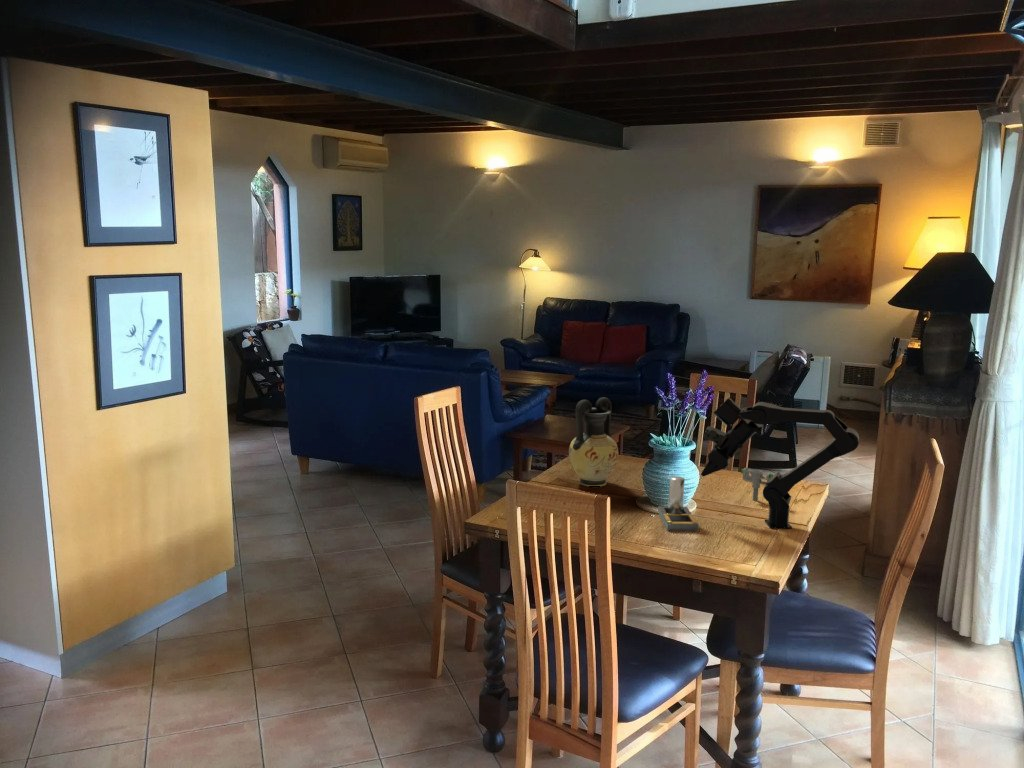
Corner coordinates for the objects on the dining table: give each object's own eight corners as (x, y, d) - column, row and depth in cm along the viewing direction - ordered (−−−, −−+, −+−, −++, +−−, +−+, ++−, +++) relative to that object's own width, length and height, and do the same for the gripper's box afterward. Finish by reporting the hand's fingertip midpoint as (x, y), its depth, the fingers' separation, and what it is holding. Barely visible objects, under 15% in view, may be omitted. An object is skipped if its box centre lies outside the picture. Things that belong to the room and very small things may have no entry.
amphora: (589, 473, 303) (592, 391, 298) (627, 483, 292) (631, 399, 287) (557, 482, 291) (559, 398, 286) (595, 494, 279) (598, 405, 274)
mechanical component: (768, 504, 272) (770, 474, 270) (738, 498, 278) (740, 469, 276) (771, 502, 274) (774, 472, 272) (741, 496, 280) (743, 467, 279)
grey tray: (697, 531, 246) (698, 523, 246) (667, 530, 246) (667, 523, 246) (686, 513, 262) (686, 505, 262) (657, 512, 262) (658, 505, 262)
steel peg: (683, 520, 256) (685, 480, 253) (669, 519, 256) (671, 480, 253) (680, 515, 260) (682, 476, 258) (666, 515, 260) (668, 476, 258)
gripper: (722, 412, 263) (690, 447, 269) (713, 424, 246) (678, 461, 252) (750, 436, 261) (716, 470, 267) (742, 449, 244) (707, 486, 250)
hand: (704, 471), depth 259 cm, fingers open, 9 cm apart
